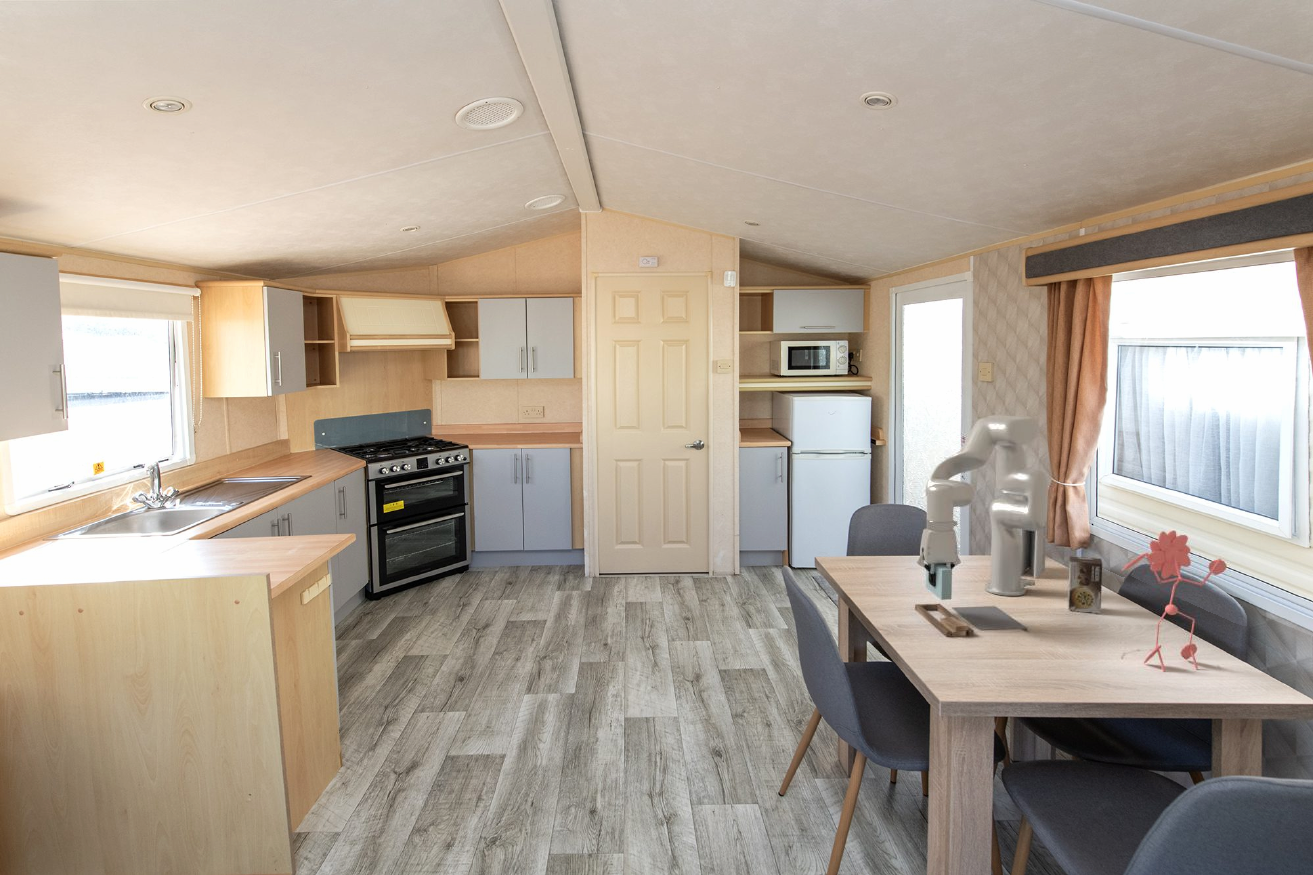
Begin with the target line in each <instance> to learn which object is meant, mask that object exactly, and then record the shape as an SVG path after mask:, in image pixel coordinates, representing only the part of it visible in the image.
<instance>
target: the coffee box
mask: <svg viewBox="0 0 1313 875" xmlns="http://www.w3.org/2000/svg"><path fill="white" fill-rule="evenodd" d="M1068 563H1069V565H1068V566H1069V568H1068V570H1069V571H1068V593H1067V610H1072V611H1071V612H1075V611H1079V612H1078V613H1085V612H1092V613H1091V614H1095V613H1098V614H1097V615H1101V613H1102V588H1103V587H1102V586H1103V584H1102V583H1103V567H1104V566H1103V561H1102V558H1095V557H1083V556H1072V555H1071V556H1069V562H1068Z"/></svg>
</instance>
